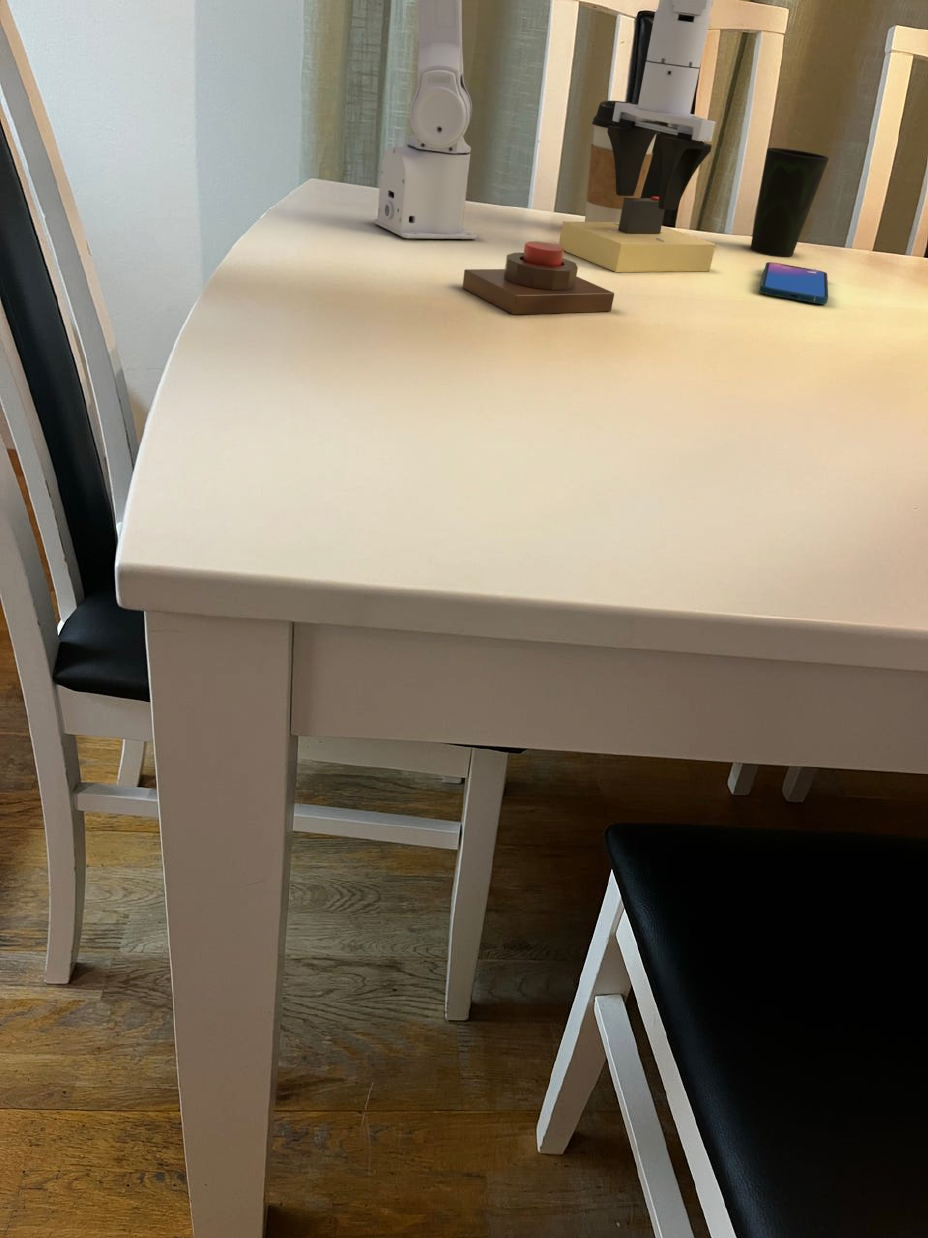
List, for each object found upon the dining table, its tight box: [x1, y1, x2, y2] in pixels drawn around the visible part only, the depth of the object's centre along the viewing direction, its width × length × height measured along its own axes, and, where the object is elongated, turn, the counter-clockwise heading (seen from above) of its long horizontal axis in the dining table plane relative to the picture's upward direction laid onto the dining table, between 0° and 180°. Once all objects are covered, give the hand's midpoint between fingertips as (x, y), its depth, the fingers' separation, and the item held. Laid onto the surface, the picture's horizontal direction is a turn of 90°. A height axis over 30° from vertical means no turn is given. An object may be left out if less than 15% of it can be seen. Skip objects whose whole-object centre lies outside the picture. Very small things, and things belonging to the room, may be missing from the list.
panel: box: [558, 220, 717, 273], centre depth 112 cm, size 14×11×3 cm
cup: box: [750, 147, 830, 258], centre depth 126 cm, size 8×8×12 cm
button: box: [523, 240, 565, 267], centre depth 89 cm, size 4×4×2 cm
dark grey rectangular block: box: [618, 196, 666, 234], centre depth 111 cm, size 5×2×4 cm, turn 120°
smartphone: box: [759, 261, 829, 305], centre depth 110 cm, size 7×1×15 cm
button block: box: [462, 252, 615, 316], centre depth 90 cm, size 11×9×4 cm
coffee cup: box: [584, 100, 661, 222], centre depth 121 cm, size 8×8×15 cm
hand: (645, 202), depth 110 cm, fingers open, 7 cm apart
